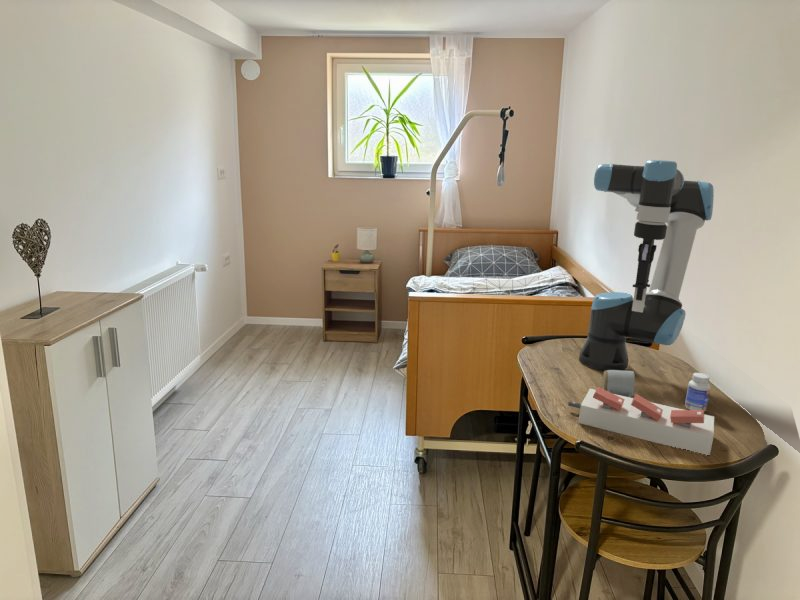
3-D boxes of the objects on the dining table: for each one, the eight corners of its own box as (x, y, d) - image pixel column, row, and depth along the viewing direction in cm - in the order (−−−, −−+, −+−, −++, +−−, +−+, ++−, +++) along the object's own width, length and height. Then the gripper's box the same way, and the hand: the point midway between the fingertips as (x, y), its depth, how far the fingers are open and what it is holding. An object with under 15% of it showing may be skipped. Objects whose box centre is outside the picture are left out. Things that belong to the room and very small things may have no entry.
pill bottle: (707, 414, 158) (714, 380, 155) (685, 410, 160) (691, 377, 157) (704, 406, 163) (711, 373, 160) (683, 402, 165) (689, 370, 162)
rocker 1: (595, 391, 151) (598, 386, 150) (622, 404, 148) (624, 399, 148) (592, 397, 148) (595, 391, 147) (619, 410, 145) (622, 405, 144)
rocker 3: (672, 416, 143) (671, 409, 143) (704, 416, 140) (703, 409, 140) (671, 422, 140) (670, 416, 140) (703, 423, 136) (703, 416, 136)
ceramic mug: (600, 388, 172) (603, 363, 170) (629, 392, 170) (633, 367, 168) (603, 404, 162) (607, 378, 160) (634, 408, 160) (639, 382, 158)
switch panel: (572, 401, 162) (575, 381, 160) (710, 434, 147) (714, 412, 145) (562, 418, 152) (565, 397, 150) (709, 456, 136) (714, 432, 135)
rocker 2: (632, 398, 147) (636, 393, 146) (659, 414, 145) (663, 409, 144) (630, 404, 143) (634, 399, 143) (657, 421, 141) (661, 415, 141)
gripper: (639, 218, 157) (625, 303, 163) (632, 223, 146) (618, 314, 152) (669, 221, 154) (654, 307, 160) (665, 227, 142) (649, 319, 149)
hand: (637, 310), depth 156 cm, fingers closed
